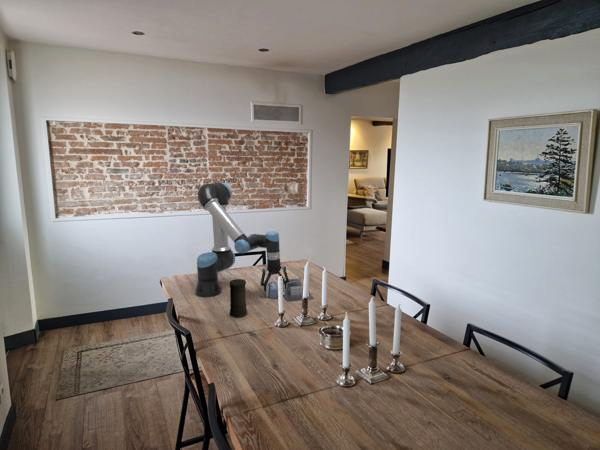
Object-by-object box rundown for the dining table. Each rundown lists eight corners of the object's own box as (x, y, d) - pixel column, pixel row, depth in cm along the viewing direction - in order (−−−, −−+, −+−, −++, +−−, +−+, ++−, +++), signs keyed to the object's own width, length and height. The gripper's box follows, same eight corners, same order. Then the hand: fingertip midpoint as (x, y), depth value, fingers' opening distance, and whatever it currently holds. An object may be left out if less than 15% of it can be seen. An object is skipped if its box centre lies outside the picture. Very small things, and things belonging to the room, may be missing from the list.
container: (248, 311, 209) (248, 278, 205) (244, 318, 200) (244, 284, 197) (232, 310, 210) (231, 278, 206) (227, 317, 201) (226, 284, 198)
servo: (268, 294, 234) (267, 279, 232) (274, 293, 235) (274, 279, 233) (271, 299, 225) (271, 284, 224) (277, 298, 226) (277, 284, 225)
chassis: (279, 289, 241) (279, 277, 240) (304, 287, 245) (304, 275, 244) (287, 301, 222) (286, 289, 221) (313, 298, 227) (314, 286, 225)
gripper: (255, 262, 220) (258, 300, 224) (293, 257, 225) (295, 294, 230) (253, 258, 227) (255, 295, 231) (290, 254, 232) (292, 290, 237)
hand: (275, 295), depth 230 cm, fingers open, 9 cm apart
